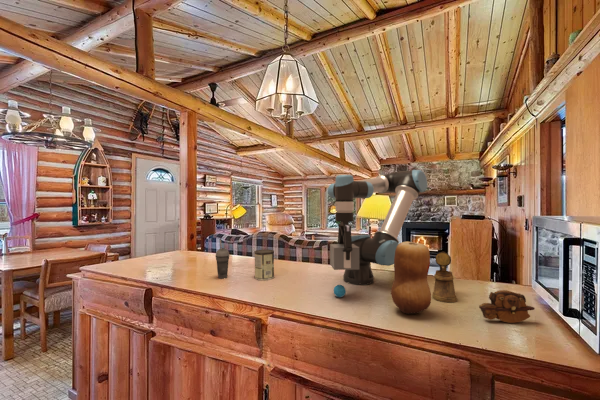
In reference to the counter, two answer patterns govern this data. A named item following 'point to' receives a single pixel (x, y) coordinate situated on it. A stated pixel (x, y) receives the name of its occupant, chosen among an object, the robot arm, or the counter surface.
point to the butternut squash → (411, 277)
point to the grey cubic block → (338, 257)
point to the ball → (339, 291)
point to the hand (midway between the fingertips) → (344, 265)
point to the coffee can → (264, 264)
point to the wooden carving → (506, 307)
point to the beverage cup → (222, 262)
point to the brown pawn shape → (443, 280)
